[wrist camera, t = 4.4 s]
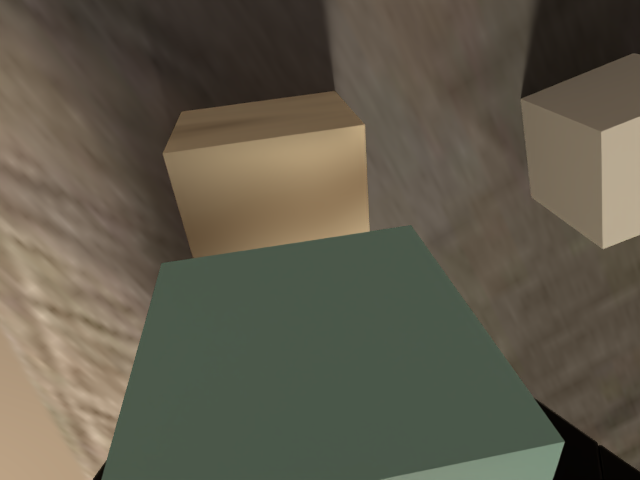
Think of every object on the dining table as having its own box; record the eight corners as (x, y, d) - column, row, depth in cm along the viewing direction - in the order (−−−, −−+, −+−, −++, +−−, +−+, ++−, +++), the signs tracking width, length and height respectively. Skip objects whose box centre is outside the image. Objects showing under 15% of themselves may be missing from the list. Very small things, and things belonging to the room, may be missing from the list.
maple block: (344, 222, 21) (371, 284, 16) (215, 243, 20) (208, 313, 16) (334, 90, 18) (364, 124, 13) (181, 110, 17) (162, 153, 13)
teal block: (406, 392, 12) (504, 631, 7) (214, 428, 11) (199, 705, 7) (410, 225, 9) (564, 442, 5) (161, 263, 9) (84, 540, 4)
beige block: (629, 157, 21) (727, 200, 17) (530, 196, 22) (602, 248, 17) (631, 52, 19) (747, 73, 14) (519, 98, 19) (600, 131, 15)
